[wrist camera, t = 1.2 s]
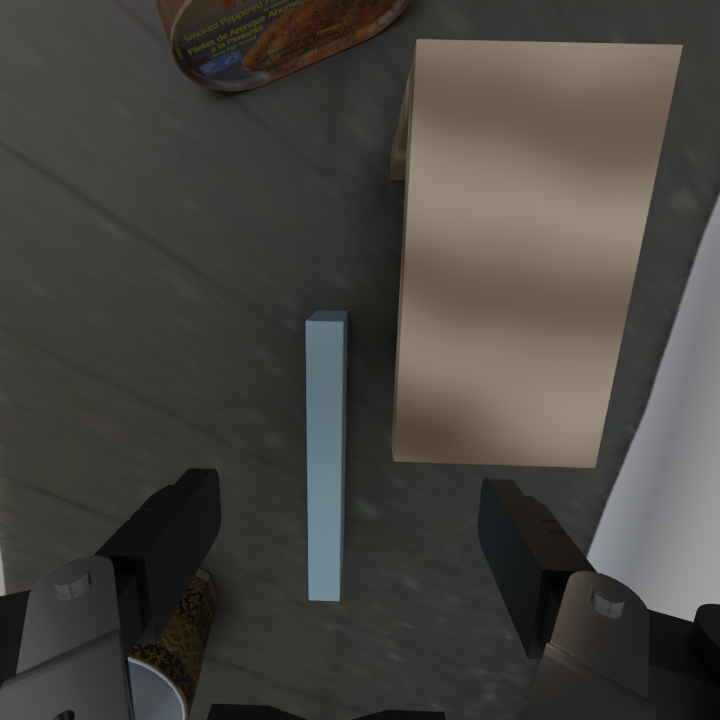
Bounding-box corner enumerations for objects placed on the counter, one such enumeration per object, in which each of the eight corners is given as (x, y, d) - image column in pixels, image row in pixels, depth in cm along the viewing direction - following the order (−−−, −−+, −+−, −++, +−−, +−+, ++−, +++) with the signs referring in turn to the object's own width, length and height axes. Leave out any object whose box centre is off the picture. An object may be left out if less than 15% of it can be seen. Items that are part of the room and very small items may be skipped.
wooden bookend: (390, 156, 26) (416, 39, 13) (517, 160, 26) (682, 45, 12) (381, 373, 30) (393, 461, 16) (491, 376, 30) (594, 467, 16)
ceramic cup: (118, 554, 35) (23, 664, 25) (218, 538, 34) (160, 645, 25) (161, 657, 38) (91, 790, 28) (254, 644, 37) (215, 777, 28)
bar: (317, 309, 29) (305, 320, 23) (347, 310, 29) (343, 321, 23) (318, 543, 35) (308, 600, 29) (343, 544, 35) (339, 601, 29)
